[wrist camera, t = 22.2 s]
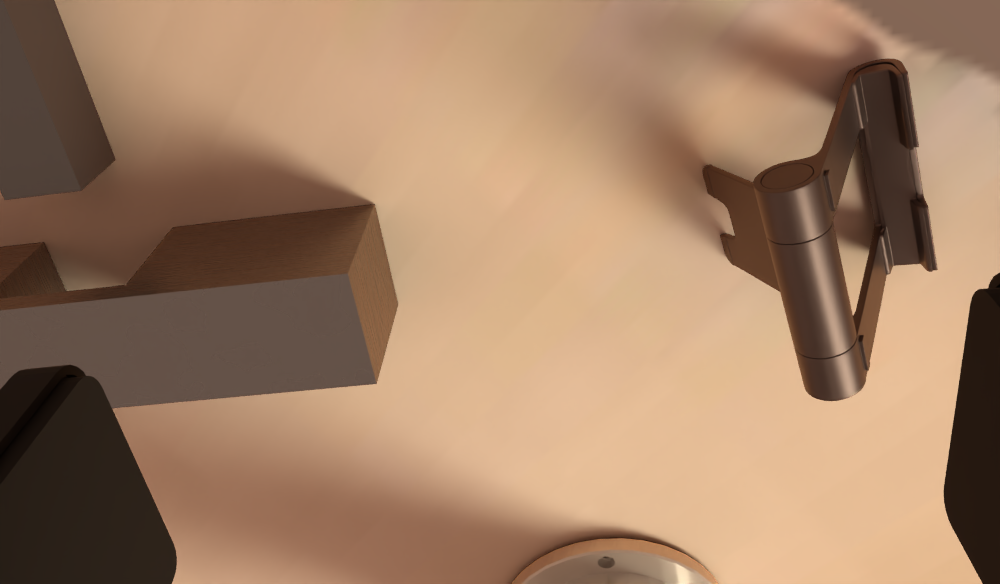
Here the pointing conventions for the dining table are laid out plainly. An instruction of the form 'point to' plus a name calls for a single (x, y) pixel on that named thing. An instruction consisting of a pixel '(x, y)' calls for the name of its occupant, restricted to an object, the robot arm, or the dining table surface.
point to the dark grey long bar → (44, 107)
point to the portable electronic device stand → (810, 231)
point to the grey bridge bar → (213, 311)
